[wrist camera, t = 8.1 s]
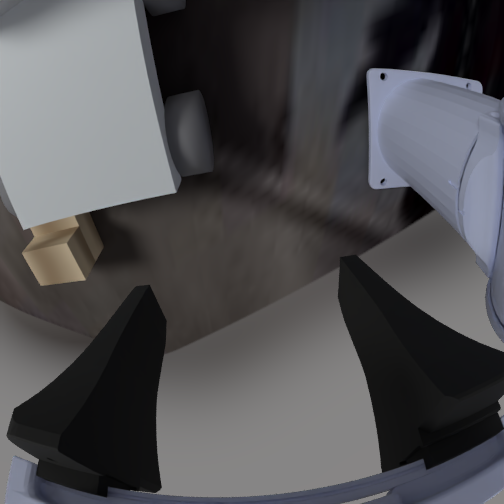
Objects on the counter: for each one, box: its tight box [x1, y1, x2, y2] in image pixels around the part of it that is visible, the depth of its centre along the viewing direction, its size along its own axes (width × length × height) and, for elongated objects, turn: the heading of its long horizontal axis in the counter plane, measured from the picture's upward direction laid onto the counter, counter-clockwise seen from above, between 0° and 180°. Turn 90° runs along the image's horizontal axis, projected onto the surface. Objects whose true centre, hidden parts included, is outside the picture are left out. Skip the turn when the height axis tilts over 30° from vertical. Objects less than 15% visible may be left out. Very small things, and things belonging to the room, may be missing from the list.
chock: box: [22, 212, 104, 286], centre depth 18 cm, size 4×5×4 cm
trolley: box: [0, 0, 214, 230], centre depth 10 cm, size 13×13×10 cm
